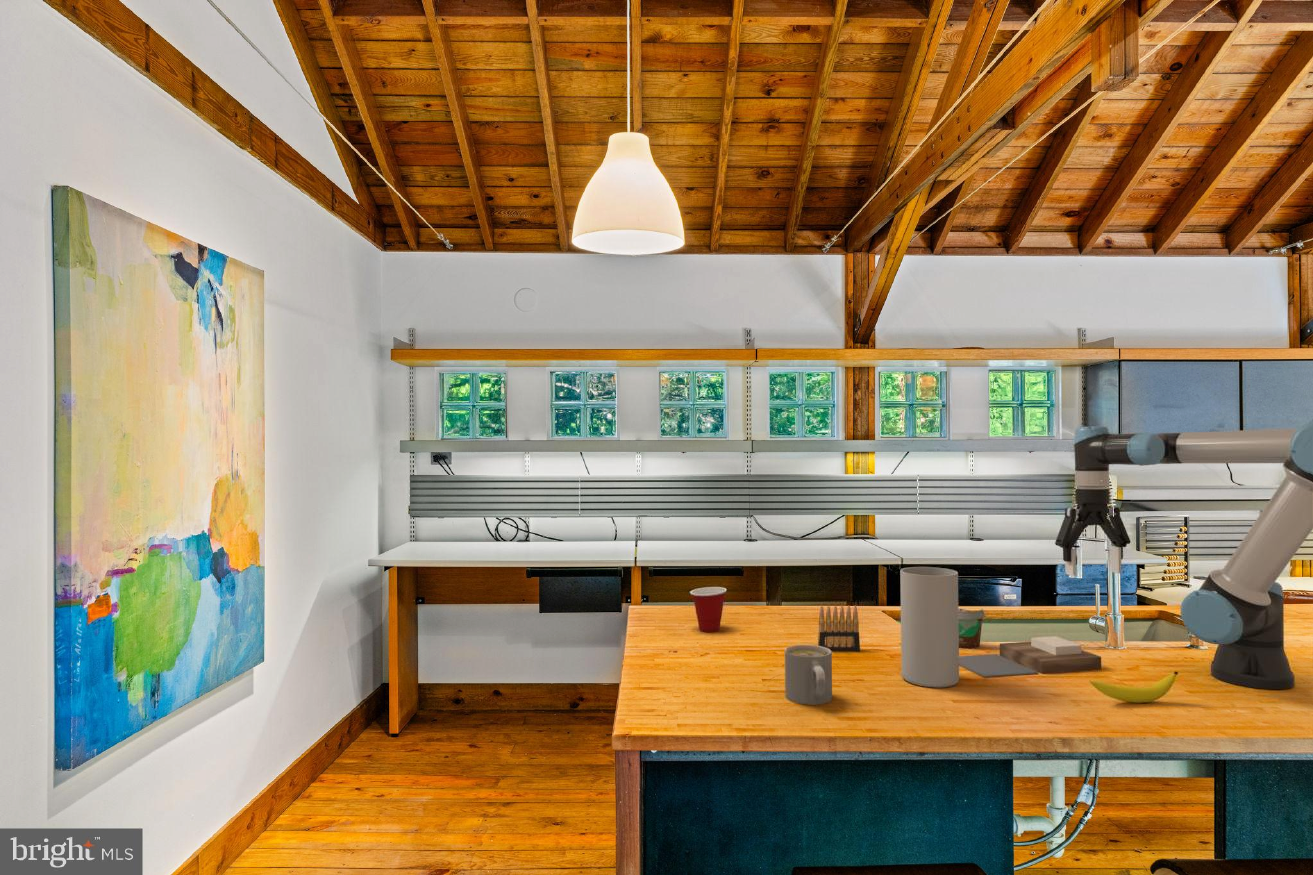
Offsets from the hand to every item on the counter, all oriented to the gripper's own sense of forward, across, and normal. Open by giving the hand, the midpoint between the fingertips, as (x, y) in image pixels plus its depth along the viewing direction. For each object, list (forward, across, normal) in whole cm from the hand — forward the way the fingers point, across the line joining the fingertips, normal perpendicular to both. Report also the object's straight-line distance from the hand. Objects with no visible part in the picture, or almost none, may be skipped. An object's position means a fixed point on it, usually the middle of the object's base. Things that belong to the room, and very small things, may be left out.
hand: (1093, 573), depth 193 cm
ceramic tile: (+18, +11, 0) cm, 21 cm away
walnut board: (+21, +13, 0) cm, 25 cm away
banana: (+22, +16, +30) cm, 40 cm away
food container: (+21, +26, -18) cm, 38 cm away
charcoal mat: (+21, +29, 0) cm, 36 cm away
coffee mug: (+21, +81, +13) cm, 85 cm away
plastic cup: (+21, +86, -51) cm, 103 cm away
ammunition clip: (+21, +59, -22) cm, 66 cm away
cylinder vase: (+22, +49, +6) cm, 54 cm away
